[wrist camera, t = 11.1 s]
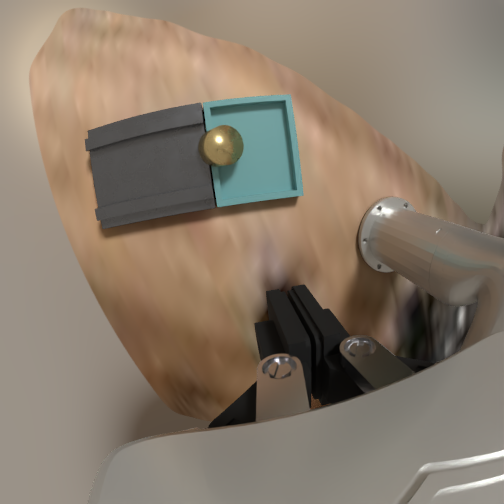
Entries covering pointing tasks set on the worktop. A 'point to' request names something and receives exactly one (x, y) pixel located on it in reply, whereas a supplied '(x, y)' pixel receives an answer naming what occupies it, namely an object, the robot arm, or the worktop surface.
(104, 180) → the slot plate
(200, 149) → the brass puck
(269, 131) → the tray
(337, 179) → the worktop surface
